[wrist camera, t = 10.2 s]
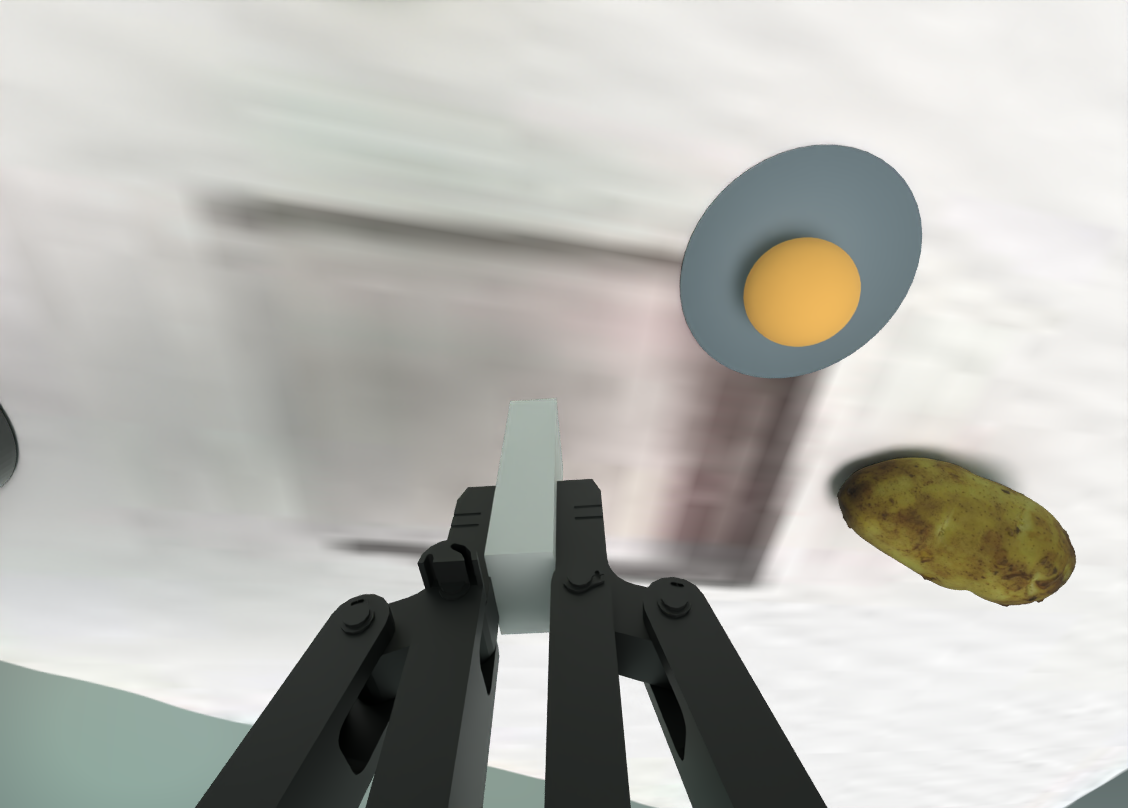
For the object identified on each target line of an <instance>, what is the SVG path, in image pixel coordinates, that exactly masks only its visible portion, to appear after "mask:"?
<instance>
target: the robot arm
mask: <svg viewBox="0 0 1128 808" xmlns="http://www.w3.org/2000/svg"><path fill="white" fill-rule="evenodd" d="M15 463H16V446H15V441H14V437H13V434H12V431H11V429H10V426H9V424H8V422H7V420H6V418H5V417H4V415H3V413H2V412H1V410H0V487H1V486H3V485H4V484H5V483H6V482H7V481H8V479H9V478H10V476H11V475H12V473H13V471H14V468H15ZM418 566H419V570H420V573H421V576H422V579H423V583H424V586H425V589H424V590H422V591H421V592H419V593H418V594H415V595H413V596H410V597H408V598H405V599H402V600H399V601H396V602H393V603H390V604H388V603H387V602H386V601H385V599H384V598H383V597H380V596H377V595H375V594H364V595H360V596H357V597H354V598H351V599H350V600H348V601H347V602H345V603H343V604H342V605H340V606H339V607H338V608H337V610H336V611H335V612H334V613H333V614H332V615H331V616H330V618H329V619H328V621H327V622H326V623H325V625H324V626H323V628H322V629H321V630H320V632H319V633H318V635H317V636H316V638H315V639H314V640H313V642H312V643H311V645H310V646H309V647H308V649H307V650H306V652H305V653H304V654H303V656H302V657H301V659H300V660H299V662H298V663H297V664H296V666H295V667H294V669H293V670H292V671H291V673H290V674H289V676H288V677H287V678H286V680H285V681H284V683H283V684H282V686H281V687H280V688H279V690H278V691H277V693H276V694H275V695H274V697H273V698H272V700H271V701H270V702H269V704H268V705H267V707H266V708H265V710H264V711H263V712H262V714H261V715H260V717H259V718H258V719H257V721H256V722H255V724H254V725H253V727H252V728H251V729H250V731H249V732H248V734H247V735H246V736H245V738H244V739H243V741H242V742H241V743H240V745H239V746H238V748H237V749H236V751H235V752H234V753H233V755H232V756H231V758H230V759H229V760H228V762H227V763H226V765H225V766H224V767H223V769H222V770H221V772H220V773H219V775H218V776H217V778H216V779H215V780H214V782H213V783H212V784H211V786H210V788H209V789H208V790H207V792H206V793H205V794H204V796H203V797H202V799H201V800H200V801H199V803H198V804H197V806H196V807H195V808H358V807H359V805H360V803H361V801H362V799H363V796H364V794H365V792H366V790H367V788H368V786H369V784H370V782H371V780H372V778H373V776H374V779H373V782H372V786H371V790H370V793H369V797H368V800H367V805H366V808H483V799H484V790H485V781H486V772H487V763H488V754H489V745H490V736H491V727H492V718H493V708H494V699H495V690H496V681H497V672H498V663H499V650H498V644H497V633H498V625H499V627H500V631H501V635H502V634H523V633H544V632H549V666H548V701H547V736H546V772H545V808H631V805H630V794H629V783H628V772H627V762H626V751H625V740H624V729H623V718H622V707H621V696H620V685H619V675H621V676H625V677H628V678H632V679H635V680H638V681H642V682H644V684H645V687H646V689H647V692H648V694H649V697H650V699H651V702H652V705H653V707H654V710H655V712H656V715H657V717H658V720H659V722H660V725H661V728H662V730H663V733H664V735H665V738H666V740H667V743H668V745H669V748H670V751H671V753H672V756H673V758H674V761H675V763H676V766H677V769H678V771H679V774H680V776H681V779H682V781H683V784H684V786H685V789H686V792H687V794H688V797H689V799H690V802H691V804H692V807H693V808H827V806H826V804H825V803H824V801H823V799H822V798H821V796H820V794H819V792H818V791H817V789H816V787H815V785H814V784H813V782H812V780H811V779H810V777H809V775H808V773H807V772H806V770H805V768H804V767H803V765H802V763H801V761H800V760H799V758H798V756H797V755H796V753H795V751H794V749H793V748H792V746H791V744H790V743H789V741H788V739H787V737H786V736H785V734H784V732H783V730H782V729H781V727H780V725H779V724H778V722H777V720H776V718H775V717H774V715H773V713H772V712H771V710H770V708H769V706H768V705H767V703H766V701H765V700H764V698H763V696H762V694H761V693H760V691H759V689H758V687H757V686H756V684H755V682H754V681H753V679H752V677H751V675H750V674H749V672H748V670H747V669H746V667H745V665H744V663H743V662H742V660H741V658H740V657H739V655H738V653H737V651H736V650H735V648H734V646H733V645H732V643H731V641H730V639H729V638H728V636H727V634H726V632H725V631H724V629H723V627H722V626H721V624H720V622H719V620H718V619H717V617H716V615H715V614H714V612H713V610H712V608H711V607H710V605H709V603H708V602H707V600H706V598H705V596H704V595H703V593H702V592H701V591H700V590H699V589H698V588H697V587H696V586H695V585H694V584H692V583H690V582H688V581H687V580H684V579H680V578H675V577H669V578H661V579H659V580H657V581H655V582H652V583H651V584H650V586H649V587H643V586H639V585H635V584H632V583H629V582H626V581H624V580H622V579H621V578H619V577H618V576H617V575H616V574H615V573H614V572H613V571H612V570H611V568H610V566H609V564H608V560H607V553H606V542H605V532H604V521H603V510H602V500H601V490H600V489H599V488H598V486H597V485H596V484H595V482H594V481H593V479H583V480H566V481H563V464H562V453H561V442H560V432H559V421H558V411H557V400H556V398H553V399H537V400H522V401H510V406H509V412H508V418H507V424H506V430H505V436H504V441H503V447H502V453H501V459H500V465H499V471H498V477H497V483H496V486H484V487H468V488H467V489H466V490H465V492H464V493H463V494H462V495H461V496H460V498H459V499H458V500H457V504H456V508H455V512H454V517H453V520H452V523H451V528H450V531H449V535H448V539H447V540H446V541H441V542H439V543H437V544H435V545H433V546H431V547H430V548H429V549H428V550H426V551H425V552H424V553H423V554H422V556H421V558H420V559H419V561H418ZM374 774H375V775H374Z"/></svg>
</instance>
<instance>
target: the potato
mask: <svg viewBox="0 0 1128 808" xmlns="http://www.w3.org/2000/svg"><path fill="white" fill-rule="evenodd" d="M837 497H838V501H839V506H840V509H841V511H842V514H843V518H844V520H845V521H846V523H847V525H848V527H849V528H852V529H853V530H854V531H855V532H856V533H857V534H858V535H859V536H860V537H861V538H863V539H864V540H865V541H867V542H868V543H870V544H872V545H873V546H874V547H876V548H877V549H879V550H880V551H882V552H883V553H885V554H887V555H888V556H890V557H892V558H894V559H895V560H897V561H898V562H900V563H902V564H903V565H905V566H907V567H908V568H910V569H911V570H913V571H915V572H916V573H918V574H920V575H921V576H922V577H923V578H924V580H925V579H926V580H929V581H932V582H933V583H935V584H937V585H940V586H942V587H945V588H949V589H954V590H968V591H971V592H972V593H974V594H975V595H977V596H979V597H981V598H983V599H985V600H988V601H991V602H994V603H997V604H1000V605H1002V606H1006V607H1007V606H1009V605H1021V604H1028V603H1032V602H1034V601H1037V602H1038V603H1039V602H1042V601H1043V600H1044V599H1045V598H1046V597H1048V596H1050V595H1052V594H1053V593H1055V592H1056V591H1058V589H1059V588H1060V587H1062V586H1063V585H1064V584H1065V583H1066V582H1067V580H1068V579H1069V578H1070V576H1071V574H1072V572H1073V570H1074V568H1075V564H1076V555H1075V551H1074V548H1073V546H1072V544H1071V542H1070V539H1069V535H1068V534H1067V531H1065V530H1064V529H1063V528H1062V526H1061V525H1060V523H1059V522H1058V521H1057V520H1056V519H1055V517H1054V516H1053V515H1052V514H1051V513H1049V512H1048V511H1047V510H1046V509H1045V508H1043V507H1042V506H1041V505H1039V504H1038V503H1036V502H1034V501H1033V500H1031V499H1030V498H1028V497H1026V496H1024V494H1021V493H1019V492H1016V491H1014V490H1012V489H1010V488H1008V487H1006V486H1004V485H1002V484H999V483H997V482H994V481H991V480H988V479H985V478H983V477H980V476H978V475H975V474H973V473H971V472H970V471H968V470H966V469H964V468H962V467H960V466H958V465H955V464H952V463H948V462H944V461H939V460H934V459H928V458H897V459H891V460H887V461H884V462H880V463H877V464H873V465H870V466H867V467H864V468H862V469H860V470H858V471H856V472H855V473H853V474H852V475H851V476H850V477H849V478H848V479H847V480H846V481H845V483H844V484H843V485H842V487H841V488H840V490H839V492H838V494H837Z"/></svg>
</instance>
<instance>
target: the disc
mask: <svg viewBox="0 0 1128 808" xmlns="http://www.w3.org/2000/svg"><path fill="white" fill-rule="evenodd" d="M803 237H812V238H819V239H823V240H826V241H829V242H832V243H834V244H835V245H837V246H839V247H840V248H841V249H843V250H844V251H845V252H846V253H847V254H848V255H849V256H850V257H851V259H852V260H853V261H854V263H855V265H856V267H857V270H858V273H859V276H860V281H861V292H860V299H859V303H858V306H857V308H856V310H855V313H854V314H853V316H852V317H851V319H850V320H849V322H848V323H847V324H846V325H845V326H844V327H843V328H842V329H841V330H840V331H839V332H838V333H836V334H835V335H834V336H832V337H831V338H829V339H827V340H825V341H823V342H820V343H817V344H814V345H810V346H803V347H792V346H785V345H781V344H778V343H775V342H773V341H771V340H769V339H767V338H766V337H764V336H763V335H762V334H760V333H759V332H758V331H757V330H756V329H755V328H754V326H753V325H752V324H751V322H750V320H749V318H748V316H747V314H746V311H745V306H744V299H743V296H744V287H745V283H746V279H747V276H748V274H749V272H750V270H751V269H752V267H753V266H754V264H755V263H756V262H757V260H758V259H759V258H760V257H761V256H762V255H763V254H764V253H765V252H767V251H768V250H770V249H771V248H772V247H774V246H776V245H778V244H780V243H782V242H785V241H787V240H791V239H796V238H803ZM921 244H922V227H921V218H920V214H919V209H918V205H917V203H916V201H915V198H914V196H913V193H912V191H911V190H910V188H909V187H908V185H907V183H906V182H905V180H904V179H903V178H902V177H901V176H900V175H899V174H898V172H897V171H896V170H895V169H894V168H893V167H891V166H890V165H889V164H887V163H886V162H885V161H883V160H882V159H880V158H878V157H876V156H874V155H872V154H870V153H868V152H865V151H862V150H859V149H855V148H852V147H846V146H838V145H814V146H808V147H801V148H797V149H793V150H790V151H786V152H783V153H780V154H778V155H776V156H773V157H771V158H769V159H766V160H764V161H763V162H761V163H759V164H757V165H756V166H754V167H752V168H751V169H749V170H748V171H746V172H745V173H743V174H742V175H741V176H739V177H738V178H737V179H735V180H734V181H733V182H732V183H731V184H730V185H729V186H728V187H727V188H726V189H724V190H723V191H722V192H721V193H720V194H719V196H718V197H717V198H716V199H715V200H714V201H713V203H712V204H711V205H710V206H709V207H708V209H707V210H706V212H705V213H704V215H703V216H702V218H701V219H700V221H699V222H698V224H697V226H696V228H695V230H694V232H693V234H692V236H691V238H690V241H689V244H688V246H687V249H686V252H685V256H684V260H683V264H682V269H681V278H680V297H681V303H682V309H683V313H684V316H685V319H686V322H687V324H688V326H689V328H690V330H691V332H692V334H693V336H694V338H695V339H696V340H697V342H698V343H699V345H700V346H701V347H702V348H703V349H704V350H705V351H706V352H707V353H708V354H709V355H710V356H711V357H712V358H714V359H715V360H716V361H718V362H719V363H720V364H722V365H724V366H726V367H728V368H729V369H732V370H734V371H737V372H739V373H742V374H746V375H750V376H754V377H763V378H786V377H794V376H800V375H804V374H808V373H812V372H815V371H818V370H821V369H823V368H826V367H828V366H830V365H832V364H835V363H837V362H839V361H840V360H842V359H844V358H846V357H847V356H849V355H851V354H852V353H854V352H855V351H856V350H858V349H859V348H861V347H862V346H863V345H865V344H866V343H867V342H868V341H869V340H870V339H872V338H873V337H874V336H875V335H876V334H877V333H878V332H879V331H880V330H881V329H882V328H883V327H884V326H885V325H886V324H887V322H888V321H889V320H890V319H891V317H892V316H893V315H894V313H895V312H896V311H897V309H898V308H899V306H900V305H901V303H902V301H903V300H904V298H905V296H906V294H907V292H908V290H909V288H910V286H911V284H912V282H913V279H914V276H915V273H916V270H917V267H918V263H919V258H920V253H921Z"/></svg>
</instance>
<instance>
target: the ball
mask: <svg viewBox="0 0 1128 808" xmlns="http://www.w3.org/2000/svg"><path fill="white" fill-rule="evenodd" d="M860 292H861V281H860V276H859V273H858V270H857V267H856V265H855V263H854V261H853V260H852V259H851V257H850V256H849V255H848V254H847V253H846V252H845V251H844V250H843V249H841V248H840V247H839V246H837V245H835V244H834V243H832V242H829V241H826V240H823V239H819V238H812V237H803V238H796V239H791V240H787V241H785V242H782V243H780V244H778V245H776V246H774V247H772V248H771V249H770V250H768V251H767V252H765V253H764V254H763V255H762V256H761V257H760V258H759V259H758V260H757V262H756V263H755V264H754V266H753V267H752V269H751V270H750V272H749V274H748V276H747V279H746V283H745V287H744V296H743V299H744V306H745V311H746V314H747V316H748V318H749V320H750V322H751V324H752V325H753V326H754V328H755V329H756V330H757V331H758V332H759V333H760V334H762V335H763V336H764V337H766V338H767V339H769V340H771V341H773V342H775V343H778V344H781V345H785V346H792V347H803V346H810V345H814V344H817V343H820V342H823V341H825V340H827V339H829V338H831V337H832V336H834V335H835V334H836V333H838V332H839V331H840V330H841V329H842V328H843V327H844V326H845V325H846V324H847V323H848V322H849V320H850V319H851V317H852V316H853V314H854V313H855V310H856V308H857V306H858V303H859V299H860Z"/></svg>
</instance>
